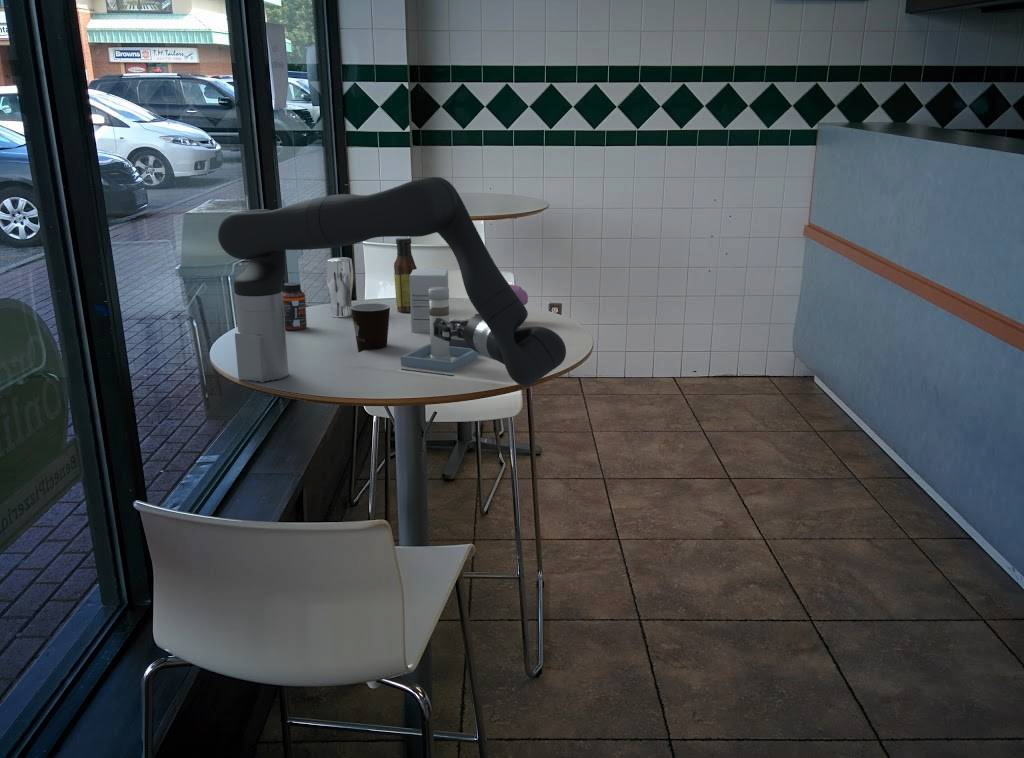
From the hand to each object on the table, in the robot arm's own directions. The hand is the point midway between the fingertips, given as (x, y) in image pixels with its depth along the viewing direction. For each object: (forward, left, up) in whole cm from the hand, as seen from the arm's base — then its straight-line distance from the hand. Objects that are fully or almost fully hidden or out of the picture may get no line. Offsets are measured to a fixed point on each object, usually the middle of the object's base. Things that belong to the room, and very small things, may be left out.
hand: (457, 320), depth 178 cm
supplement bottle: (+22, +57, -12) cm, 62 cm away
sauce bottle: (+52, +42, -12) cm, 68 cm away
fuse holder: (+17, +7, -11) cm, 22 cm away
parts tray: (+5, +7, -11) cm, 14 cm away
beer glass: (+40, +55, -12) cm, 69 cm away
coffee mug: (+12, +28, -12) cm, 33 cm away
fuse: (+5, +7, -11) cm, 14 cm away
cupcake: (+49, +10, -12) cm, 52 cm away
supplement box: (+32, +24, -12) cm, 42 cm away
